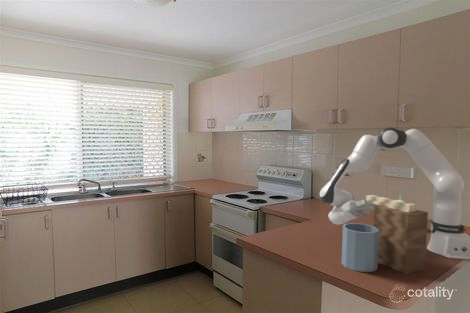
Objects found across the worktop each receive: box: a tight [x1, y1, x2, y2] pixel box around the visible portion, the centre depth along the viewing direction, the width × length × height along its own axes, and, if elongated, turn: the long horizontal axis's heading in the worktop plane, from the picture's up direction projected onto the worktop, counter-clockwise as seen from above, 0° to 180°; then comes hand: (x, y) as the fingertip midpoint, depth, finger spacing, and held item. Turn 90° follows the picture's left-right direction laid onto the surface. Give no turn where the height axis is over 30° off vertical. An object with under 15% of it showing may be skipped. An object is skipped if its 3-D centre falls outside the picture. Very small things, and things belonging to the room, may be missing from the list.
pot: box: [341, 222, 379, 273], centre depth 130 cm, size 14×14×16 cm
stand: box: [373, 206, 429, 275], centre depth 131 cm, size 16×12×24 cm
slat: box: [365, 194, 417, 212], centre depth 135 cm, size 22×4×3 cm, turn 24°
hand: (373, 200), depth 143 cm, fingers open, 8 cm apart
